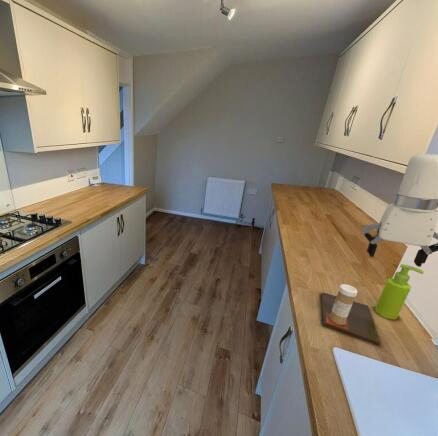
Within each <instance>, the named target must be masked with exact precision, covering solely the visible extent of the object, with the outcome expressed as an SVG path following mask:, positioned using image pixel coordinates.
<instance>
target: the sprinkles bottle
mask: <svg viewBox="0 0 438 436" xmlns="http://www.w3.org/2000/svg"><path fill="white" fill-rule="evenodd" d="M357 295H358V289H357V288H356V287H354V286H352V285H350V284H347V283H342V284H339V287H338V291H337V294H336V296H337V297H336V300H335V302H334V305H333V308H332V312H331V314H330V316H329V318H330V320H331V321H333V322H334V323H336V324H339V325H344V324H345V323H346V319H347V317H348V315H349V312H350V309H351V307H352V304H353V301H354V300H355V298H356V297H357ZM354 302H355V301H354Z"/></svg>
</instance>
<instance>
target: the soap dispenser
mask: <svg viewBox="0 0 438 436" xmlns="http://www.w3.org/2000/svg"><path fill="white" fill-rule="evenodd" d="M399 268H401V269H400V271H396V272H395V274H394V276H393V278H391V277H390V278H387V280H386V282H385V284H384V287H383V289H382V291H381V294H380V296H379V299H378V300H377V303H376V306H375V308H374V311H375V313H377V315H379V316H381V317H382V318H385V319H388V320H397V319H398V317H399V315H400V313H401V310H402V308H403V306H404V304H405V302H406V300H407V298H408V296H409V294H410V291H411V289H412V286H411V284H410V283H408V282H409V280H410V278H411V276H410V275H409V271H413V272H416V273H418V274H421V275H423V274H424V273H425V271H424V270H423V269H421V268H419V267H416V266H413V265H409V264H404V263H400V265H399Z"/></svg>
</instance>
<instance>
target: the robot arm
mask: <svg viewBox="0 0 438 436" xmlns="http://www.w3.org/2000/svg"><path fill="white" fill-rule="evenodd" d="M437 209H438V154H435V153H434V154H433V153H420V154H415V155H413V156H412V157H410V158H409V161H408V163H407V165H406V168H405V171H404V175H403V177H402V180H401V182H400V186H399V189H398V191H397V194H396V197H395V199H394V202H393V203H389V204H388V206H387V207H386V208H385V210H384V212H383V213H382V216H381V218H380V220H379V222H377V223H371V224H366V225H362V226H361V230H362V233H363V236H364V237H365V238H366V240H367V241H368V242H369V243H368V246H367V249H366V252H367V254H368V255H369V258H374V257H375V254H376V251H377V249H378V243H380V242H383V241H387V242H393V243H397V244H398V243H399V244H403V245H409V246H410V245H411V246H417V247H420V249H418V250H417V252H416V254H415V257H414V260H413V263H414V265H415V267H417V268H421V267H422V265H424V264H425V263H426V261H427V259H428V257H429V255H432V254H434V253H435V252H438V232H436V227H437V222H438V210H437ZM373 230H375V231H376V232H375V233H376V234H374V235H371V233H370V231H373ZM433 238H434V239H435V240H437V242H436V243H433V244H431V242H432V239H433ZM430 244H431V245H430Z"/></svg>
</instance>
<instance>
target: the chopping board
mask: <svg viewBox="0 0 438 436" xmlns="http://www.w3.org/2000/svg"><path fill="white" fill-rule="evenodd" d="M336 297H337V295H334V294H330V293H327V292H325V291H324V292H322V293H321V302H322V321H323V323H322V324H323V327H326V328H328V329H332V330H335V331H336V332H340V333H343V334H346V335H349V336H351V337H353V338H357V339H359V340H363V341H365V342H368V343H372V344H374V345H377V346H379V345H380V339H379V336H378V332H377V330H376V326H375V323H374V320H373V316H372V314H371V311H370V307H369V305H368V304H364V303H361V302H357V301H353V304H352V307H351V309H350V312H349V315H348V317H347V319H346V323H345V324H344V325H339V324H336V323H334V322H333V321H331V320H330V318H329V316H330V314H331V312H332V308H333V305H334V302H335V300H336Z"/></svg>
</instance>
